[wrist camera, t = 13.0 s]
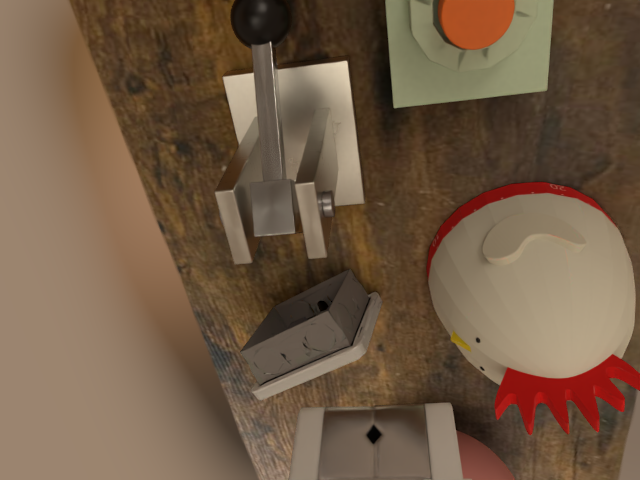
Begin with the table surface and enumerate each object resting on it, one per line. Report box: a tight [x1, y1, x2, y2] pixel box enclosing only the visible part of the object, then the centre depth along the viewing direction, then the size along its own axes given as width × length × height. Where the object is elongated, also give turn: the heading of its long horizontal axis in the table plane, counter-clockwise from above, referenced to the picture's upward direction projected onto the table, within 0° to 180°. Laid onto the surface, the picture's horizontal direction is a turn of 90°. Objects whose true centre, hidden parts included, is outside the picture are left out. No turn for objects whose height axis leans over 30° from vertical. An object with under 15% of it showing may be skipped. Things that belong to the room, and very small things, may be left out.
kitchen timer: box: [426, 182, 640, 435], centre depth 35 cm, size 14×14×15 cm
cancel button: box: [438, 0, 515, 50], centre depth 28 cm, size 4×4×2 cm
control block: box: [385, 0, 554, 108], centre depth 30 cm, size 11×9×4 cm
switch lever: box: [231, 0, 303, 237], centre depth 29 cm, size 13×3×3 cm
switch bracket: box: [215, 56, 365, 264], centre depth 32 cm, size 10×8×12 cm
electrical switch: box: [240, 269, 383, 401], centre depth 41 cm, size 9×5×9 cm, turn 125°
